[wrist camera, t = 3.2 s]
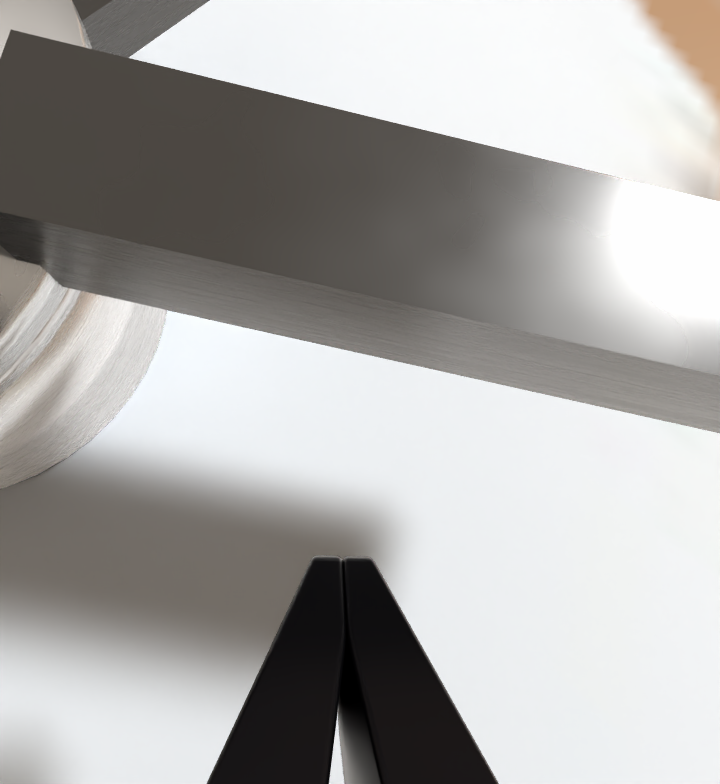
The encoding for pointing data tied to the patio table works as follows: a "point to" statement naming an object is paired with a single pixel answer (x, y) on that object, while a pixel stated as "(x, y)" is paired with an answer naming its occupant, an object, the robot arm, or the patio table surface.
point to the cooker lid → (343, 231)
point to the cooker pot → (84, 311)
